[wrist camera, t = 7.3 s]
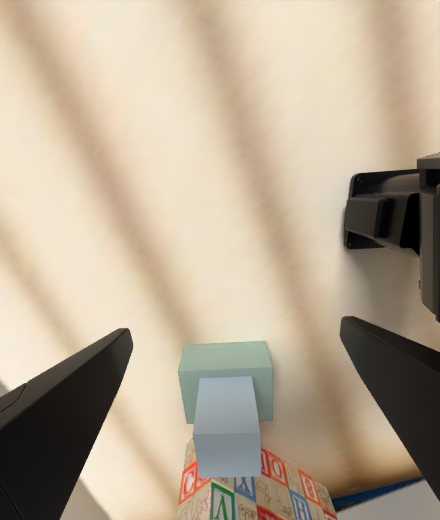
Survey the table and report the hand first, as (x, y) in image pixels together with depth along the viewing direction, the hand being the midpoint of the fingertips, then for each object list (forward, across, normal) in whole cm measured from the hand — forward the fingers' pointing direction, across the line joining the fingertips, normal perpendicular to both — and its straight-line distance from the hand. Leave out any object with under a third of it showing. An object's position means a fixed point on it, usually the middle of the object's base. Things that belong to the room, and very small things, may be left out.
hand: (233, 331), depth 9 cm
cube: (+8, +1, +14) cm, 16 cm away
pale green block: (+12, +1, +14) cm, 19 cm away
